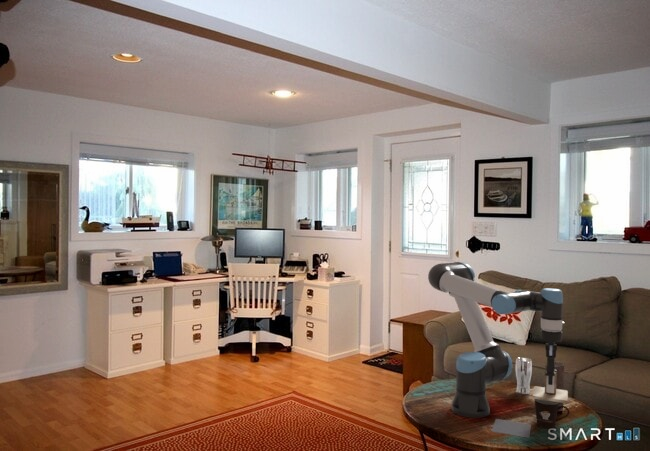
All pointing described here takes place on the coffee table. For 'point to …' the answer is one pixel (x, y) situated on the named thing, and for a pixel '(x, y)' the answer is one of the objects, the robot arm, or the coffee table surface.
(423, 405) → the coffee table surface
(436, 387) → the coffee table surface
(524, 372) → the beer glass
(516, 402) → the coffee table surface
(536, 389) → the cover
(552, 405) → the coffee mug
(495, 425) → the mat
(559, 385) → the dark brown log
